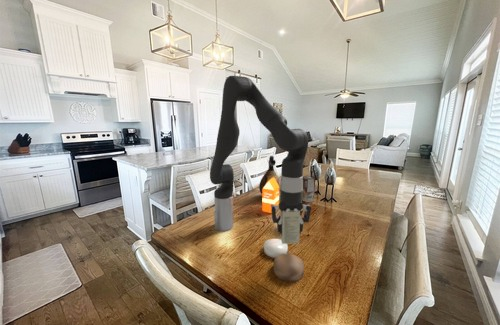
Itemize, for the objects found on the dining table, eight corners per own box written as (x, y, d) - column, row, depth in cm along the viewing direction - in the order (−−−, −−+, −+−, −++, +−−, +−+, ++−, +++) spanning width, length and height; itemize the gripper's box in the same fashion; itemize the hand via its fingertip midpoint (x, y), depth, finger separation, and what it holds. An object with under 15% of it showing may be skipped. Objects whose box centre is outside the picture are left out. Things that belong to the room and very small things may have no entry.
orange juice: (262, 211, 127) (262, 179, 123) (267, 205, 134) (268, 176, 130) (273, 213, 123) (274, 181, 119) (279, 208, 131) (279, 177, 127)
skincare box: (296, 236, 77) (298, 206, 74) (299, 243, 72) (301, 211, 70) (279, 237, 76) (280, 206, 74) (281, 244, 72) (282, 211, 70)
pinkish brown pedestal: (276, 282, 71) (276, 274, 71) (271, 260, 82) (272, 254, 81) (307, 281, 72) (307, 273, 71) (299, 260, 82) (299, 253, 82)
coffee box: (314, 201, 141) (315, 178, 138) (306, 202, 139) (307, 179, 135) (306, 196, 149) (307, 175, 146) (298, 198, 147) (299, 176, 144)
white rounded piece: (265, 258, 84) (265, 252, 83) (263, 243, 93) (263, 238, 93) (289, 257, 84) (289, 252, 83) (285, 243, 94) (285, 238, 93)
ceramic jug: (282, 201, 141) (283, 158, 135) (259, 201, 141) (259, 158, 135) (279, 192, 157) (280, 154, 151) (258, 192, 158) (259, 154, 152)
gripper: (271, 192, 66) (271, 238, 70) (316, 191, 67) (313, 238, 70) (269, 184, 74) (268, 227, 77) (308, 184, 74) (306, 226, 78)
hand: (289, 232), depth 74 cm, fingers closed on skincare box, 6 cm apart
